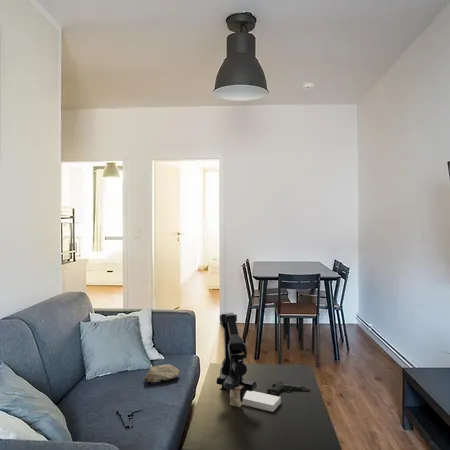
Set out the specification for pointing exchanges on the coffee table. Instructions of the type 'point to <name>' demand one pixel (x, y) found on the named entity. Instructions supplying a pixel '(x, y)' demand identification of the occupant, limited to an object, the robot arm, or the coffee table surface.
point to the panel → (261, 400)
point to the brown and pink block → (235, 397)
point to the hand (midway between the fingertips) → (236, 400)
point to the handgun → (285, 388)
